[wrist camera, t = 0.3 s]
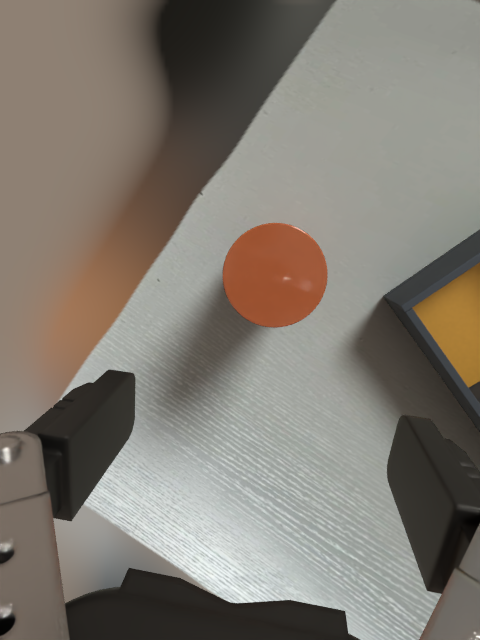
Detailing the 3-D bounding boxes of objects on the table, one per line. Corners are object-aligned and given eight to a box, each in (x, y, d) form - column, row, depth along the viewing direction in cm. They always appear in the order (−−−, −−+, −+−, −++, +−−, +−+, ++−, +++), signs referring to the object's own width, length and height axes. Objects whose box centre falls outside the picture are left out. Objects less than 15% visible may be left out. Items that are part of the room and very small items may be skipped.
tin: (227, 254, 32) (201, 267, 20) (280, 212, 31) (285, 200, 19) (267, 306, 33) (264, 347, 21) (320, 266, 31) (348, 287, 20)
